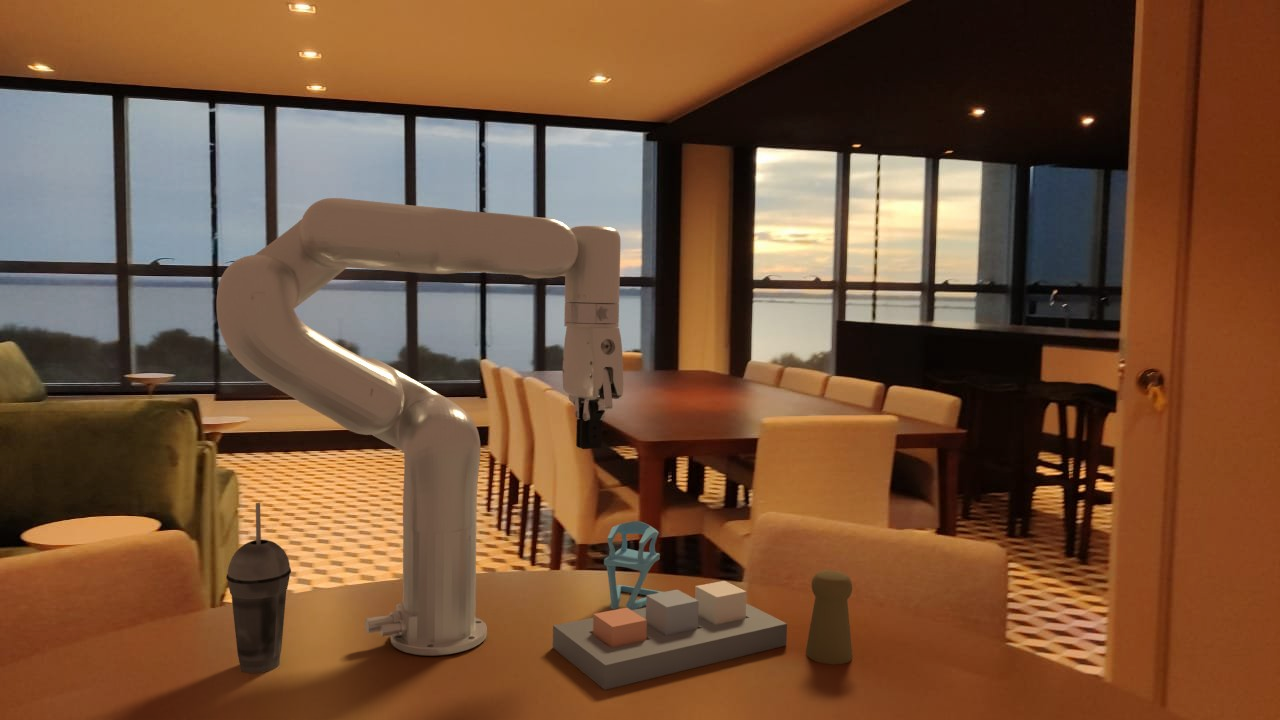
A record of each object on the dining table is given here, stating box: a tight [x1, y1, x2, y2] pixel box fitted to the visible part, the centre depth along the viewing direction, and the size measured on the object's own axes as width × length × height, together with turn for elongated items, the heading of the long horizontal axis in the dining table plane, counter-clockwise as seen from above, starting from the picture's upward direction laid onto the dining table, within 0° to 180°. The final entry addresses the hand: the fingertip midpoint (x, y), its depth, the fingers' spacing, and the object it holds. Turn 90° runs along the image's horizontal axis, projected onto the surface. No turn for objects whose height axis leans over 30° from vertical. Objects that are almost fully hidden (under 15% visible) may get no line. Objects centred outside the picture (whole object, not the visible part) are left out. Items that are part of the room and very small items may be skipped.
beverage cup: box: [226, 502, 292, 674], centre depth 107 cm, size 7×7×20 cm
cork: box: [805, 569, 853, 665], centre depth 115 cm, size 6×6×11 cm
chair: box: [603, 520, 662, 610], centre depth 132 cm, size 8×8×12 cm
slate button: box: [645, 589, 699, 636], centre depth 116 cm, size 5×5×4 cm
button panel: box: [552, 597, 788, 691], centre depth 116 cm, size 28×14×3 cm, turn 122°
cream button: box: [694, 580, 748, 625], centre depth 120 cm, size 5×5×4 cm
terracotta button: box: [592, 607, 647, 648], centre depth 112 cm, size 5×5×4 cm
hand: (588, 447), depth 122 cm, fingers closed
